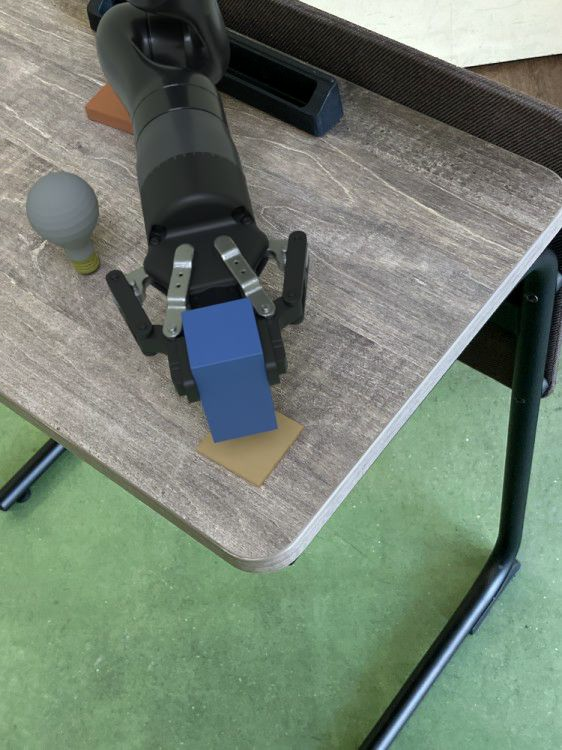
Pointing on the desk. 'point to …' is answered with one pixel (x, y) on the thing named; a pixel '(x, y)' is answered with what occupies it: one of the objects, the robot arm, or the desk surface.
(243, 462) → the mat
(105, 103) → the orange-brown square slab
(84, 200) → the light bulb
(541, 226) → the desk surface
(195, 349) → the block
